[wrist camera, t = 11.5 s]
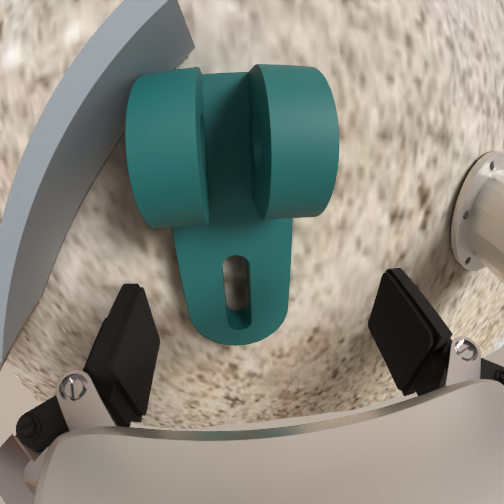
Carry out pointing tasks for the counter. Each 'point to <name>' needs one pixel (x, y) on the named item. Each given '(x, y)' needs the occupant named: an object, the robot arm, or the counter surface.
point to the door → (78, 146)
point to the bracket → (232, 180)
